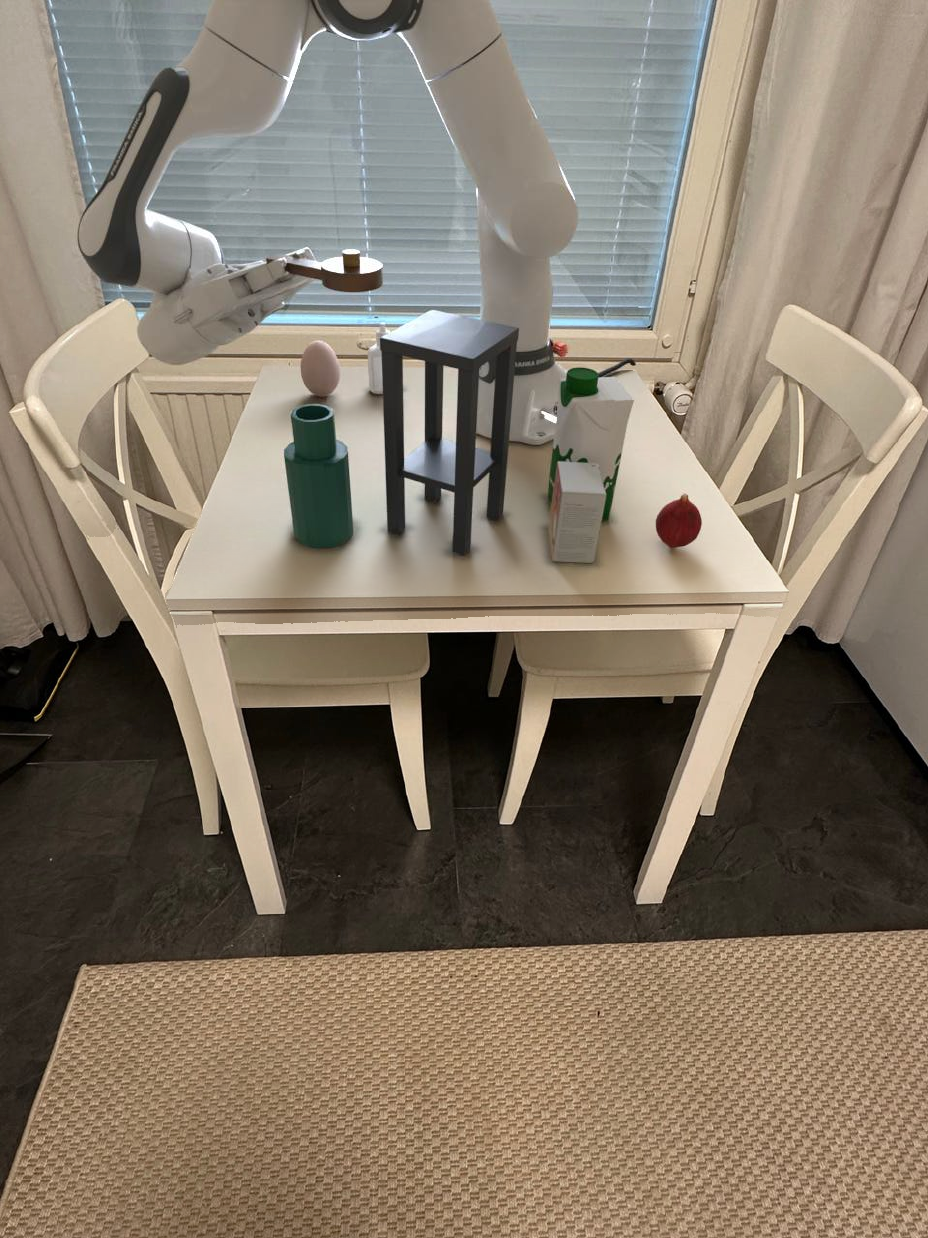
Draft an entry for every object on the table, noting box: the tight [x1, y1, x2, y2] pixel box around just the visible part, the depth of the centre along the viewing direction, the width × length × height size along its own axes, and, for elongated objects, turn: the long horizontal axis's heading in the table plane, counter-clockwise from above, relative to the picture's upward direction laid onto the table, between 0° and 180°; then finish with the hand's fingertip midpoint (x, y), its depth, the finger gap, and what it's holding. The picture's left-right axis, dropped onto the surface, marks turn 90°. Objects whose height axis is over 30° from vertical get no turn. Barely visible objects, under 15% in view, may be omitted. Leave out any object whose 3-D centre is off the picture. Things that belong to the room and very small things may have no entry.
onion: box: [655, 492, 703, 549], centre depth 99 cm, size 6×6×8 cm
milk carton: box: [547, 367, 635, 521], centre depth 102 cm, size 9×9×20 cm
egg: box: [300, 340, 341, 398], centre depth 132 cm, size 7×7×10 cm
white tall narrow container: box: [367, 322, 391, 395], centre depth 135 cm, size 4×6×12 cm
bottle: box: [283, 403, 354, 549], centre depth 96 cm, size 8×8×17 cm
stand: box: [380, 309, 519, 557], centre depth 96 cm, size 12×12×26 cm
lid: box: [265, 249, 384, 293], centre depth 88 cm, size 15×7×3 cm, turn 62°
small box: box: [547, 461, 606, 564], centre depth 98 cm, size 8×6×10 cm
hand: (294, 261), depth 90 cm, fingers closed on lid, 2 cm apart
